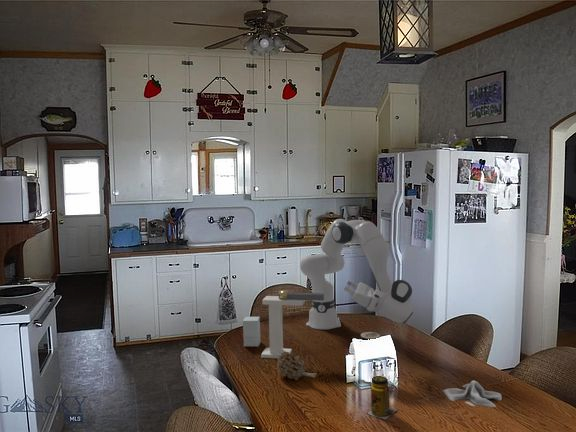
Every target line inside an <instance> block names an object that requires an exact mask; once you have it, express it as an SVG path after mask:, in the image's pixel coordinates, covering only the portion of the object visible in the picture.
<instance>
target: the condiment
mask: <svg viewBox="0 0 576 432" xmlns="http://www.w3.org/2000/svg"><path fill="white" fill-rule="evenodd" d="M388 382H389V379H388V378H387V377H386V376H382V375H381V376H376V377H373V378H372V383H371V386H370V395H371V396H370V399H371V400H370V401H371V403H370V408H371V409H370V410H369V411H367V412H366V414H368V415H371V416H372V417H376V418H379V419H383V420H387V419H388V418H389V417H391V416H392V415H393V414H394V413H396V411H398V409H396V408H392V407H390V387H389V383H388Z"/></svg>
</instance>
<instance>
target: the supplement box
mask: <svg viewBox="0 0 576 432" xmlns="http://www.w3.org/2000/svg"><path fill="white" fill-rule="evenodd" d="M260 317H261V316H245V317H244V318H243V320H242V333H243V334H242V335H243V347H259V346H260V345H261V341H262V340H261V318H260Z"/></svg>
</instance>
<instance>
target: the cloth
mask: <svg viewBox="0 0 576 432" xmlns="http://www.w3.org/2000/svg"><path fill="white" fill-rule="evenodd" d="M462 387H463V388H465V389H461V388H457V387H456V388H455V387H452V388H446V389H443V390H442V392H443V393H444V394H445V396H446V397H447V398H448V400H450V401H452V402H455V401H457V400H466V401H464V404H467V405H469V406H471V407H472V406H473V407H476V405H478V406H484V407H489V408H490V407H491V408H493V407H494V408H496V406H497V405H496V404H495V403H493V402H492V401H493V400H495V401H502V400H503V399H502V398H503V397H502V394H501V393H500V392H497V391H492V390H485V388H483V386H482V385H481V384H480V383H479V382H478V381H476V380H471V381H470V383H465V384H462ZM468 400H470V401H468ZM490 400H492V401H490ZM475 404H476V405H475Z"/></svg>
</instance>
